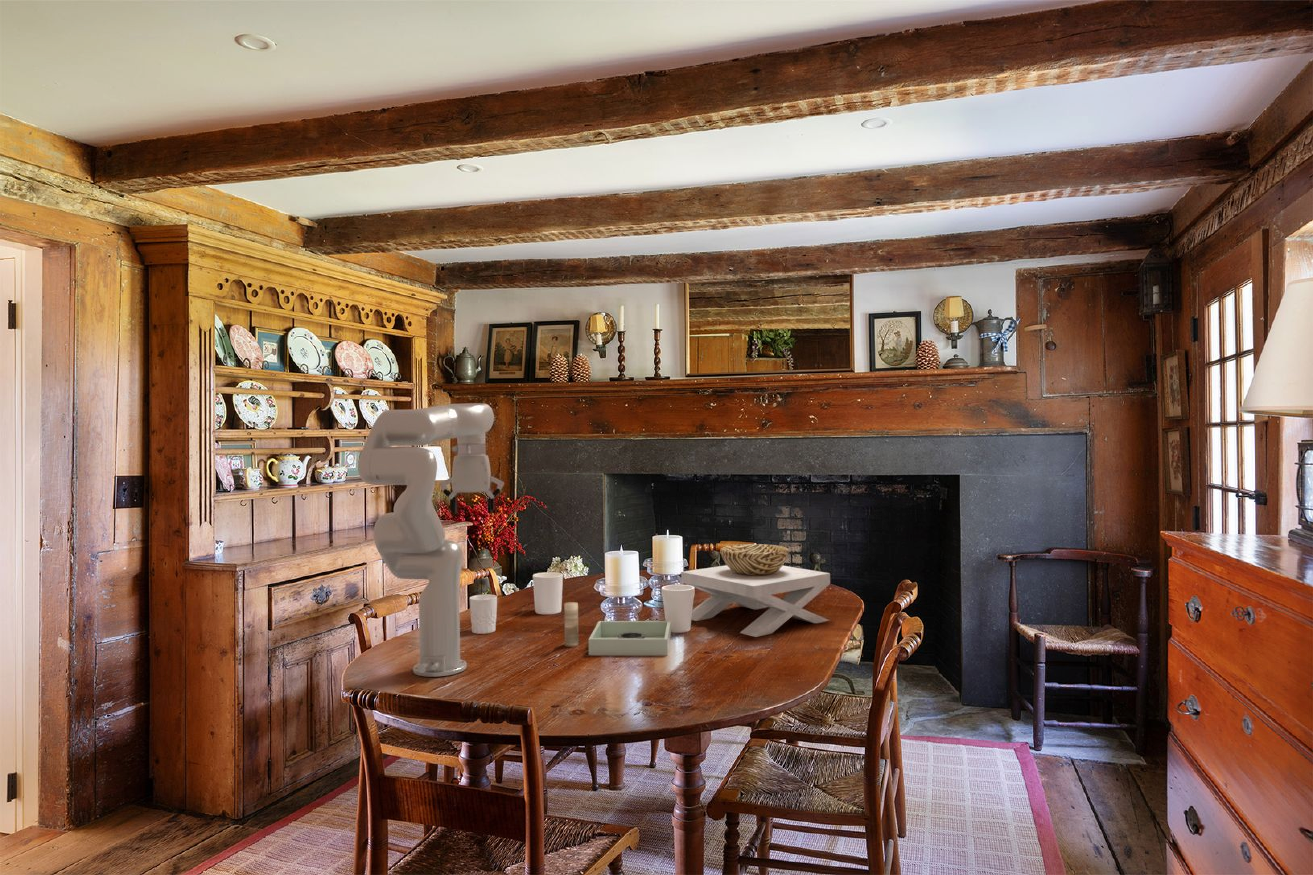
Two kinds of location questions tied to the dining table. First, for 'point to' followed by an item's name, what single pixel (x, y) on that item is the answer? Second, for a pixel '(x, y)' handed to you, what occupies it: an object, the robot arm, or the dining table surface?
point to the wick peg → (571, 624)
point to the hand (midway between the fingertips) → (472, 513)
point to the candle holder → (548, 592)
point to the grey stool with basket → (757, 586)
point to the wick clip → (631, 635)
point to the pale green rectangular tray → (609, 644)
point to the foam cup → (678, 606)
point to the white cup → (483, 613)
